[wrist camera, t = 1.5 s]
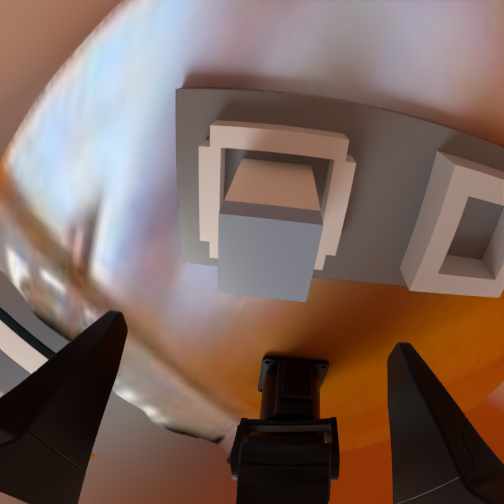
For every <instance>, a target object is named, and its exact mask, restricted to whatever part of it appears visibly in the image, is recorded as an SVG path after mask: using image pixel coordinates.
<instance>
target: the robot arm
mask: <svg viewBox="0 0 504 504" xmlns="http://www.w3.org/2000/svg"><path fill="white" fill-rule="evenodd" d="M127 333H128V328H127V325H126V322H125V319H124V315H123V313H122V312H120V311H116V310H110V311H108V312H107V313H105V314H104V315H103V316H102V317H100V318H99V319H98V320H97V321H95V322H94V323H93V324H92V325H90V326H89V327H88V328H87V329H85V330H84V331H83V332H82V333H80V334H79V335H78V336H77V337H76V338H74V339H73V340H72V341H71V342H69V343H68V344H67V345H66V346H64V347H63V348H62V349H61V350H60V351H58V352H57V353H56V354H55V355H54V356H52V357H51V358H50V359H49V360H48V361H46V362H45V363H44V364H43V365H42V366H40V367H39V368H38V369H37V371H34V372H33V373H32V374H31V375H30V376H29V377H27V378H26V379H25V380H23V381H22V382H21V383H20V384H19V385H17V386H16V387H14V388H13V389H12V390H10V391H9V392H8V393H6V394H5V395H3V396H2V397H0V504H78V501H79V497H80V493H81V489H82V485H83V481H84V478H85V474H86V470H87V466H88V463H89V459H90V456H91V452H92V449H93V446H94V442H95V438H96V436H97V433H98V429H99V426H100V423H101V420H102V417H103V414H104V411H105V408H106V405H107V402H108V399H109V396H110V393H111V390H112V387H113V385H114V382H115V379H116V376H117V373H118V369H119V365H120V361H121V357H122V353H123V349H124V345H125V341H126V337H127ZM328 368H329V363H328V362H327V361H320V360H306V359H293V358H282V357H272V356H265V357H263V360H262V366H261V372H260V378H259V385H258V391H259V392H262V400H261V410H260V419H248V418H241V422H240V425H238V426H237V432H236V436H235V440H234V444H233V447H232V449H231V451H230V453H229V456H228V458H227V464H228V465H229V466H230V467H231V472H232V477H233V479H234V480H237V501H236V503H237V504H328V502H329V499H330V484H331V481H337V480H338V476H339V463H340V461H339V459H340V455H339V441H338V430H337V420H336V417H330V418H327V419H320V389H319V388H320V386H321V383H322V381H323V379H324V377H325V375H326V372H327V370H328ZM387 368H388V412H389V423H390V436H391V452H392V474H393V475H392V477H393V504H504V464H503V463H502V461H501V460H500V459H499V458H498V457H497V456H496V454H495V453H494V452H493V451H492V450H491V449H490V447H489V446H488V445H487V444H486V442H485V441H484V440H483V439H482V438H481V436H480V435H479V434H478V432H477V431H476V430H475V429H474V427H473V426H472V424H471V423H470V422H469V420H468V419H467V418H466V416H465V415H464V413H463V412H462V410H461V409H460V408H459V406H458V405H457V404H456V402H455V401H454V400H453V398H452V397H451V395H450V394H449V393H448V391H447V390H446V389H445V387H444V386H443V385H442V383H441V382H440V381H439V380H438V378H437V377H436V376H435V374H434V373H433V372H432V370H431V369H430V368H429V367H428V365H427V364H426V363H425V361H424V360H423V359H422V358H421V356H420V355H419V354H418V353H417V351H416V350H415V349H414V347H413V346H412V345H411V344H410V343H408V342H398V343H397V344H396V345H395V347H394V349H393V350H392V352H391V354H390V355H389V357H388V362H387ZM325 441H327V443H325Z"/></svg>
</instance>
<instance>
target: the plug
mask: <svg viewBox="0 0 504 504" xmlns="http://www.w3.org/2000/svg"><path fill="white" fill-rule="evenodd" d="M322 229H323V221H322V215H321V210H320V205H319V200H318V195H317V190H316V185H315V180H314V175H313V171H312V166H309V165H301V164H293V163H284V162H275V161H266V160H255V159H244V158H242V160H241V162H240V165H239V167H238V169H237V172H236V174H235V176H234V179H233V181H232V183H231V185H230V188H229V190H228V192H227V195H226V197H225V200H224V202H223V204H222V207H221V209H220V211H219V217H218V292H220V293H228V294H236V295H245V296H253V297H262V298H271V299H280V300H289V301H299V302H306V301H307V297H308V293H309V288H310V284H311V280H312V275H313V271H314V267H315V262H316V258H317V253H318V248H319V244H320V239H321V234H322Z"/></svg>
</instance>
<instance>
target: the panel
mask: <svg viewBox="0 0 504 504" xmlns="http://www.w3.org/2000/svg"><path fill="white" fill-rule="evenodd" d="M242 158H244V159H255V160H266V161H275V162H284V163H293V164H301V165H309V166H312V171H313V175H314V180H315V185H316V190H317V195H318V200H319V205H320V210H321V215H322V221H323V229H322V234H321V239H320V244H319V248H318V253H317V258H316V262H315V267H314V271H313V275H312V277H318V278H328V279H338V280H347V281H357V282H368V283H378V284H389V285H399V286H407V287H408V289H409V291H418V292H430V293H443V294H456V295H469V296H483V297H498V298H499V297H500V295H501V293H502V292H503V290H504V147H502V146H500V145H498V144H495V143H493V142H490V141H487V140H485V139H482V138H480V137H477V136H474V135H471V134H469V133H466V132H463V131H460V130H457V129H454V128H451V127H448V126H445V125H441V124H438V123H435V122H431V121H428V120H425V119H421V118H417V117H414V116H410V115H406V114H402V113H398V112H394V111H390V110H386V109H381V108H377V107H372V106H367V105H363V104H357V103H352V102H347V101H341V100H335V99H329V98H323V97H316V96H309V95H301V94H293V93H284V92H274V91H262V90H249V89H230V88H179V89H176V166H177V192H178V212H179V228H180V243H181V256H182V262H186V263H195V264H203V265H211V266H218V217H219V211H220V209H221V207H222V204H223V202H224V200H225V197H226V195H227V192H228V190H229V188H230V185H231V183H232V181H233V179H234V176H235V174H236V172H237V169H238V167H239V165H240V162H241V160H242Z"/></svg>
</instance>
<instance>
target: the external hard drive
mask: <svg viewBox="0 0 504 504" xmlns="http://www.w3.org/2000/svg"><path fill="white" fill-rule="evenodd" d="M0 349H1V350H2V351H3V352H5V353H6V354H7V355H8V356H9V357H10V358H12V359H13V360H14V361H15V362H17V363H18V364H19V365H21V366H22V367H23V368H24V369H25V370H27V371H28V372H29V373H31V374H32V373H33V372H34V371H37V369H38V368H39V367H40V366H42V365H43V364H44V363H45V362H46V361H48V360H49V359H50V358H51V357H52V356H54V355H55V354H56V353H55V352H53V351H52V350H51V349H50V348H48V347H47V346H46V345H44V344H43V343H42V342H40V341H39V340H38V339H36V337H34V336H33V335H32V334H31V333H29V332H28V331H27V330H26V329H25V328H23V327H22V326H21V325H20V324H19V323H18V322H16V321H15V320H14V319H13V318H12V317H11V316H10V315H9V314H7V313H6V312H5V311H4V310H3V309H2V308H0Z"/></svg>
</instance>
